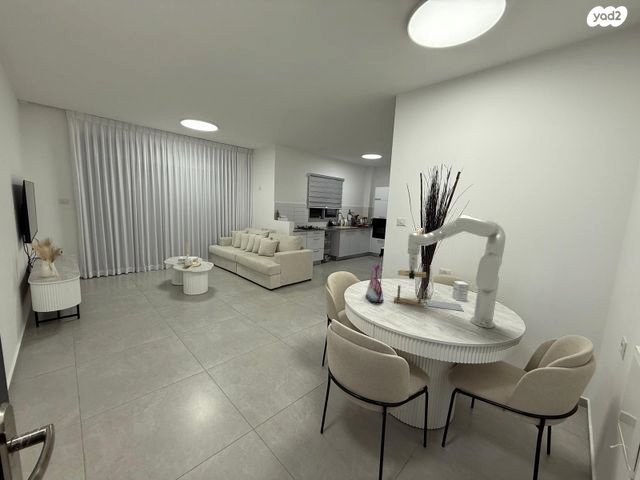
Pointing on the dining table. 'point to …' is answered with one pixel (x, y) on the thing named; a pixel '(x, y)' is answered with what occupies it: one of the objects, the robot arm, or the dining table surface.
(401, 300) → the hook stand
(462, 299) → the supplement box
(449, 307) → the slate mat
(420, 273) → the oak rail
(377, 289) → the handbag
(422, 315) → the dining table surface
